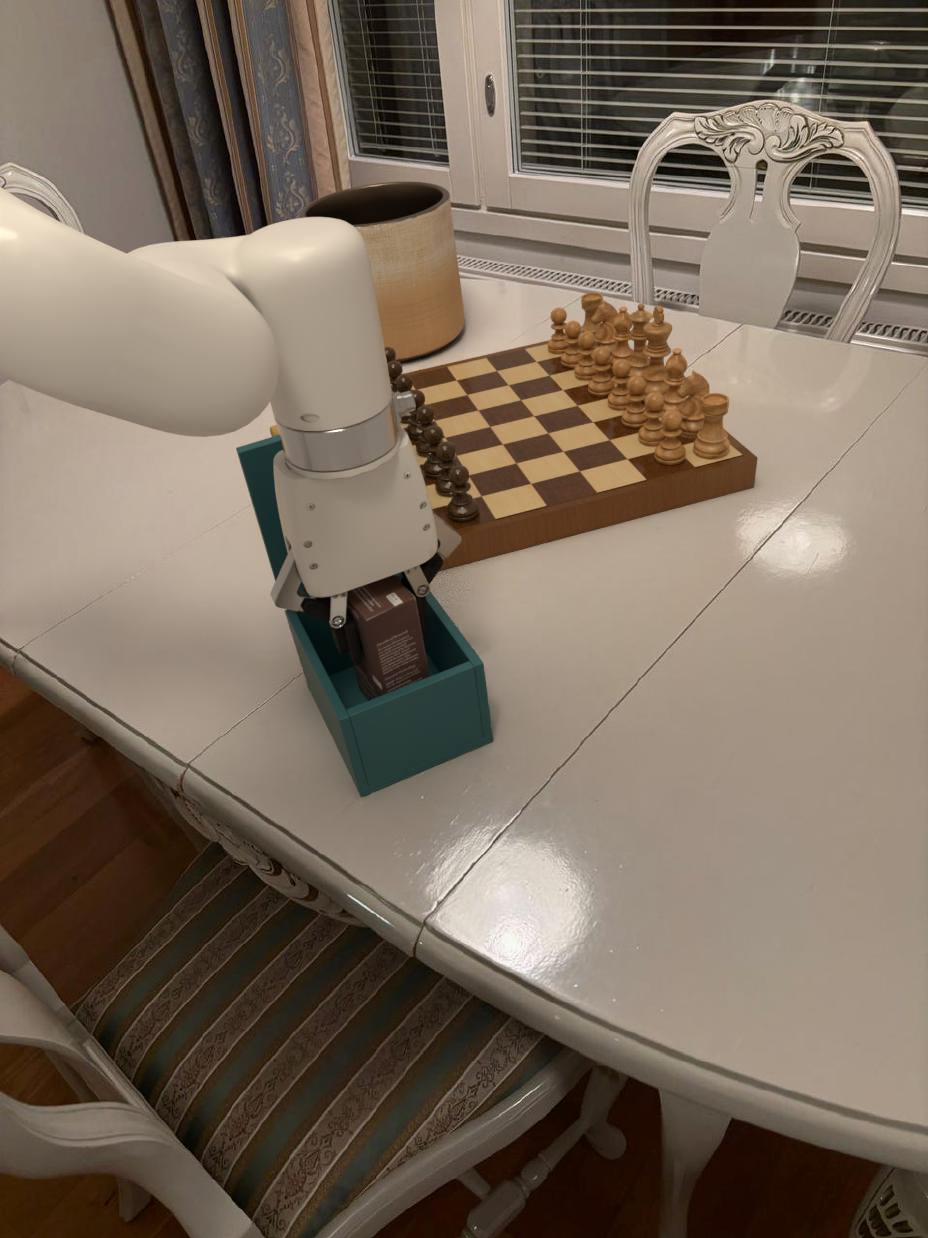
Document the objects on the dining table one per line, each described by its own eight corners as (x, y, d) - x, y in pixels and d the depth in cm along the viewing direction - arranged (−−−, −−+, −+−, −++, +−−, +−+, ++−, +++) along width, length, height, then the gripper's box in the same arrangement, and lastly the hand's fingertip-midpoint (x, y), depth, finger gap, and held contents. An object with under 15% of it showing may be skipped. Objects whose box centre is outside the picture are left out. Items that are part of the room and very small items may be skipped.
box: (356, 693, 74) (329, 577, 66) (403, 671, 75) (383, 556, 68) (389, 736, 70) (365, 618, 62) (438, 712, 71) (421, 594, 63)
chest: (493, 741, 72) (483, 662, 66) (361, 797, 69) (339, 720, 63) (424, 640, 83) (411, 564, 77) (307, 685, 80) (284, 610, 74)
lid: (389, 406, 66) (365, 377, 69) (238, 452, 63) (221, 420, 66) (412, 563, 76) (390, 531, 80) (284, 608, 73) (267, 574, 77)
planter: (350, 312, 149) (325, 184, 136) (477, 308, 144) (464, 175, 131) (307, 369, 133) (274, 230, 120) (449, 367, 128) (431, 222, 115)
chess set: (604, 352, 126) (604, 245, 117) (754, 487, 96) (769, 358, 87) (332, 416, 120) (308, 308, 111) (400, 581, 90) (376, 453, 81)
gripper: (436, 373, 61) (463, 580, 73) (197, 444, 57) (267, 652, 69) (482, 415, 56) (504, 631, 68) (223, 496, 52) (293, 713, 63)
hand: (384, 640), depth 68 cm, fingers closed on box, 4 cm apart
